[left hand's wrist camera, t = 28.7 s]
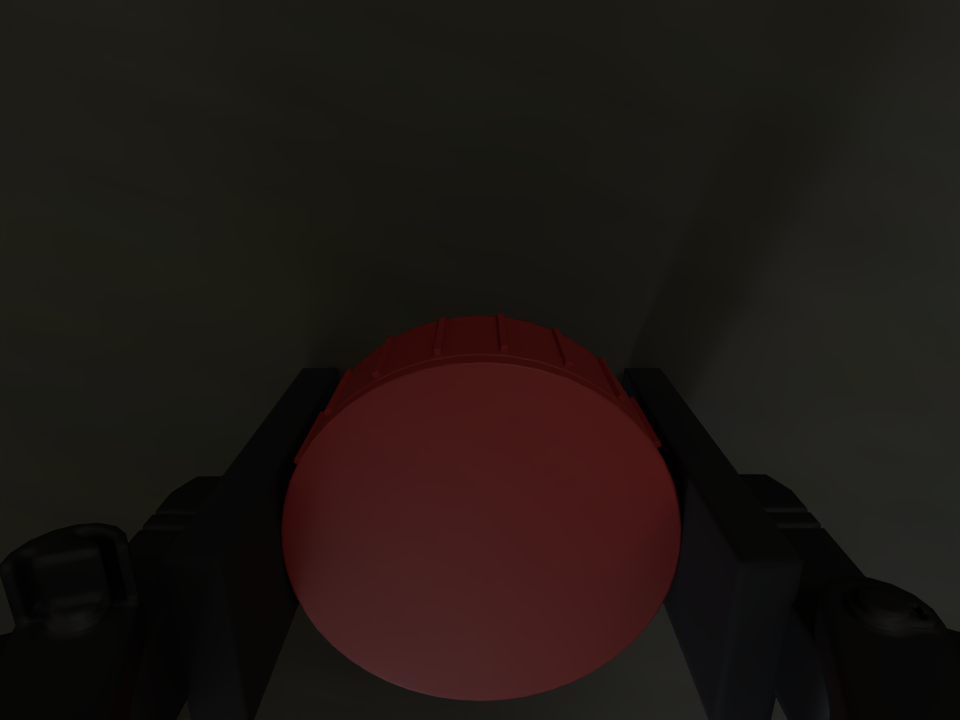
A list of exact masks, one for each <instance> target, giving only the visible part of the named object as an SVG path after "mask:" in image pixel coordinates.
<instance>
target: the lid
mask: <svg viewBox="0 0 960 720" xmlns="http://www.w3.org/2000/svg"><path fill="white" fill-rule="evenodd" d="M660 446H662V445H661V443H660V441H659V439H658V438H657V436H656V434H655V433H654V431H653V429H652V427H651V426H650V424H649V422H648V420H647V419H646V417H645V415H644V414H643V412H642V410H641V408H640V407H639V405H638V403H637V401H636V400H635V398H634V397H631V398H629V397H628V395H627V394H626V392H625V391H624V389H623V387H622V386H621V384H620V383H619V381H618V380H617V379H616V378H615V376H614V375H613V374H612V372H611V371H610V369H609V367H608V365H607V363H606V361H605V360H604V359H603V358H602V357H601V356H600V357H599V358H598V359H597V358H596V357H595V356H594V355H593V354H591V353H590V352H589V351H588V350H586V349H585V348H583V347H582V346H580V345H579V344H577V343H576V342H574V341H573V340H571V339H570V338H568V337H565V336H563V335H561V333H560V331H559V329H557V328H553V330H551V329H549V328H546V327H543V326H540V325H536V324H533V323H530V322H527V321H522V320H517V319H512V318H507V317H504V314H498V315H497V317H495V316H467V317H456V318H450V319H446V316H444V317H440V319H439V321H435V322H432V323H429V324H426V325H423V326H420V327H416V328H413V329H411V330H409V331H407V332H405V333H403V334H401V335H399V336H397V337H394V338H393V336H392V335H391V336H389V337H388V338H387V339H386V341H385V343H384V344H383V345H382V346H380V347H379V348H377V349H376V350H374V351H373V352H372V353H370V354H369V355H368V356H367V357H366V358H365V359H364V360H362V361H361V362H360V363H359V364H358V365H357V366H356V367H355V368H354V369H353V371H351V370H350V369H348V370H347V371H346V372H345V374H344V375H343V377H342V379H341V381H340V383H339V385H338V387H337V388H336V390H335V392H334V394H333V396H332V398H331V400H330V401H329V403H328V405H327V407H326V409H325V411H324V412H322V411H321V412H320V414H319V416H318V417H317V419H316V421H315V423H314V425H313V426H312V428H311V430H310V432H309V434H308V436H307V437H306V439H305V441H304V443H303V445H302V446H301V448H300V450H299V452H298V454H297V456H296V457H295V460H294V463H295V464H297V466H296V468H295V471H294V473H293V475H292V477H291V479H290V482H289V485H288V489H287V492H286V496H285V500H284V503H283V511H282V520H281V542H282V552H283V557H284V562H285V567H286V572H287V574H288V577H289V580H290V583H291V585H292V588H293V591H294V593H295V595H296V597H297V599H298V601H299V602H300V604H301V606H302V608H303V610H304V612H305V613H306V614H307V616H308V617H309V619H310V620H311V621H312V623H313V624H314V625H315V627H316V628H317V630H318V631H319V632H320V633H321V634H322V635H323V636H324V637H325V638H326V639H327V640H328V641H329V642H330V643H331V644H332V645H333V646H334V647H335V648H336V649H337V650H339V651H340V652H341V653H342V654H344V655H345V656H346V657H347V658H348V659H350V660H351V661H353V662H354V663H356V664H357V665H359V666H360V667H362V668H363V669H365V670H367V671H368V672H370V673H372V674H374V675H376V676H378V677H380V678H382V679H384V680H386V681H388V682H390V683H393V684H395V685H398V686H401V687H404V688H406V689H409V690H412V691H416V692H420V693H424V694H427V695H431V696H436V697H443V698H449V699H456V700H474V701H487V700H505V699H512V698H519V697H525V696H530V695H534V694H538V693H542V692H546V691H549V690H552V689H555V688H558V687H561V686H563V685H566V684H569V683H571V682H574V681H576V680H578V679H580V678H582V677H584V676H586V675H588V674H590V673H592V672H593V671H595V670H597V669H598V668H600V667H601V666H603V665H604V664H606V663H607V662H609V661H611V660H612V659H613V658H615V657H616V656H617V655H618V654H619V653H621V652H622V651H623V650H624V649H625V648H627V647H628V646H629V645H630V644H631V643H632V642H633V641H634V640H635V639H636V638H637V637H638V636H639V635H640V634H641V633H642V631H643V630H644V629H645V628H646V627H647V625H648V624H649V623H650V621H651V620H652V619H653V617H654V616H655V614H656V613H657V612H658V610H659V608H660V606H661V605H662V603H663V601H664V599H665V597H666V595H667V593H668V592H669V589H670V586H671V583H672V581H673V578H674V575H675V573H676V569H677V564H678V559H679V554H680V550H681V533H682V523H681V513H680V504H679V500H678V496H677V493H676V489H675V485H674V482H673V479H672V477H671V475H670V472H669V470H668V468H667V466H666V463H665V461H664V459H663V457H662V456H661V454H660V452H659V450H658V447H660Z"/></svg>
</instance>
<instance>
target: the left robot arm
mask: <svg viewBox="0 0 960 720" xmlns="http://www.w3.org/2000/svg"><path fill="white" fill-rule="evenodd" d="M338 385H339V375H338V368H303V369H302V370H301V372H300V373H299V374H298V376H297V377H296V379H295V380H294V381H293V383H292V384H291V385H290V387H289V388H288V389H287V391H286V392H285V393H284V395H283V396H282V397H281V399H280V400H279V401H278V403H277V404H276V405H275V407H274V408H273V409H272V411H271V412H270V413H269V415H268V416H267V417H266V419H265V420H264V421H263V423H262V424H261V426H260V427H259V428H258V430H257V431H256V432H255V434H254V435H253V436H252V438H251V439H250V440H249V442H248V443H247V444H246V446H245V447H244V448H243V450H242V451H241V452H240V454H239V455H238V456H237V458H236V459H235V460H234V462H233V463H232V464H231V466H230V467H229V468H228V470H227V471H226V473H225V474H224V475H223V477H202V476H197V477H196V478H194V479H192V480H191V481H189V482H188V483H186V484H184V485H183V486H181V487H180V488H178V489H176V490H175V491H173V492H172V493H171V494H170V495H169V496H168V497H167V499H166V500H165V501H164V502H163V503H162V505H161V506H160V507H159V508H158V509H157V510H156V515H152V516H151V517H150V519H149V520H148V521H147V522H146V523H145V524H144V526H143V530H142V531H139V532H138V533H137V534H136V535H135V536H134V537H133V539H132V540H131V541H130V542H129V543H128V541H127V536H126V533H124V532H123V531H122V530H121V529H119V528H118V527H117V526H113V525H107V524H102V523H92V524H78V525H74V526H70V527H66V528H61V529H57V530H54V531H51V532H49V533H46V534H44V535H42V536H39V537H37V538H35V539H32V540H30V541H28V542H27V543H25V544H24V545H22V546H21V547H19V548H18V549H16V550H15V551H13V552H11V553H10V554H9V555H8V556H7V558H6V559H5V560H4V561H3V562H2V563H1V564H0V576H1V579H2V583H3V586H4V589H5V592H6V595H7V599H8V602H9V605H10V608H11V612H12V615H13V618H14V621H15V624H16V626H15V628H14V630H13V632H11V633H8V634H3V635H0V720H176V719H177V717H178V715H179V713H180V712H181V710H182V708H183V706H184V704H185V702H186V700H187V701H188V706H189V711H190V715H191V720H254V718H255V715H256V713H257V710H258V707H259V705H260V702H261V700H262V697H263V694H264V692H265V689H266V687H267V684H268V682H269V679H270V676H271V674H272V671H273V669H274V666H275V663H276V661H277V658H278V656H279V653H280V651H281V648H282V645H283V643H284V640H285V638H286V635H287V632H288V630H289V627H290V625H291V622H292V620H293V617H294V614H295V612H296V609H297V607H298V604H299V601H298V599H297V597H296V595H295V593H294V591H293V588H292V585H291V583H290V580H289V577H288V574H287V572H286V567H285V562H284V557H283V552H282V542H281V520H282V511H283V503H284V500H285V496H286V492H287V489H288V485H289V482H290V479H291V477H292V475H293V473H294V471H295V468H296V466H297V464H295V463H294V460H295V457H296V456H297V454H298V452H299V450H300V448H301V446H302V445H303V443H304V441H305V439H306V437H307V436H308V434H309V432H310V430H311V428H312V426H313V425H314V423H315V421H316V419H317V417H318V416H319V414H320V412H321V411H322V412H324V411H325V409H326V407H327V405H328V403H329V401H330V400H331V398H332V396H333V394H334V392H335V390H336V388H337V387H338ZM623 389H624V391H625V392H626V394H627V395H628V397H629V398H631V397H634V398H635V400H636V401H637V403H638V405H639V407H640V408H641V410H642V412H643V414H644V415H645V417H646V419H647V420H648V422H649V424H650V426H651V427H652V429H653V431H654V433H655V434H656V436H657V438H658V439H659V441H660V443H661V445H662V446H660V447H658V450H659V452H660V454H661V456H662V457H663V459H664V461H665V463H666V466H667V468H668V470H669V472H670V475H671V477H672V479H673V482H674V485H675V489H676V493H677V496H678V500H679V504H680V513H681V523H682V533H681V550H680V554H679V559H678V564H677V569H676V573H675V575H674V578H673V581H672V583H671V586H670V589H669V592H668V593H667V595H666V597H665V599H664V601H663V603H664V605H665V608H666V610H667V613H668V616H669V618H670V621H671V623H672V626H673V629H674V631H675V634H676V636H677V639H678V641H679V644H680V647H681V649H682V652H683V654H684V657H685V660H686V662H687V665H688V667H689V670H690V673H691V675H692V678H693V680H694V683H695V686H696V688H697V691H698V693H699V696H700V699H701V701H702V704H703V706H704V709H705V711H706V714H707V717H708V719H709V720H771V717H772V712H773V707H774V703H775V698H777V700H778V702H779V703H780V705H781V707H782V709H783V711H784V713H785V715H786V717H787V719H788V720H960V632H957V631H954V630H950V629H947V628H946V626H945V624H944V623H943V622H942V620H941V619H940V618H939V617H938V615H937V614H936V613H935V611H934V610H933V609H932V608H931V607H929V606H928V605H927V604H925V603H924V602H923V601H921V600H920V599H919V598H917V597H916V596H915V595H913V594H911V593H909V592H907V591H905V590H903V589H901V588H899V587H897V586H895V585H892V584H889V583H886V582H882V581H879V580H875V579H872V578H867V577H865V576H864V575H863V573H862V572H861V571H860V570H859V569H858V568H857V566H856V565H855V564H854V563H853V562H852V561H851V559H850V558H849V557H848V556H847V555H846V554H845V552H844V551H843V550H842V549H841V548H840V547H839V545H838V544H837V543H836V542H835V541H834V540H833V538H832V537H831V536H830V535H829V534H828V532H827V531H826V530H825V529H824V528H821V526H820V523H819V522H818V521H817V520H816V518H815V517H814V516H813V515H812V514H811V513H808V512H807V508H806V507H805V506H804V504H803V503H802V502H801V501H800V500H799V499H798V497H797V496H796V495H795V494H794V493H793V492H792V490H790V489H788V488H787V487H785V486H784V485H782V484H780V483H779V482H777V481H776V480H774V479H772V478H771V477H769V476H768V475H766V474H738V473H737V471H736V470H735V469H734V467H733V466H732V465H731V463H730V462H729V461H728V459H727V458H726V457H725V455H724V454H723V453H722V451H721V450H720V449H719V447H718V446H717V445H716V443H715V442H714V441H713V439H712V438H711V437H710V435H709V434H708V432H707V431H706V430H705V428H704V427H703V426H702V424H701V423H700V422H699V420H698V419H697V418H696V416H695V415H694V414H693V412H692V411H691V410H690V408H689V407H688V406H687V404H686V403H685V402H684V400H683V399H682V398H681V396H680V395H679V393H678V392H677V391H676V389H675V388H674V387H673V385H672V384H671V383H670V381H669V380H668V379H667V377H666V376H665V375H664V373H663V372H662V371H661V369H660V368H625V372H624V384H623Z"/></svg>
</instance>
